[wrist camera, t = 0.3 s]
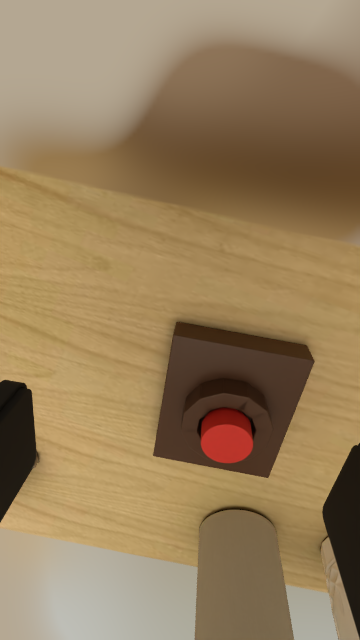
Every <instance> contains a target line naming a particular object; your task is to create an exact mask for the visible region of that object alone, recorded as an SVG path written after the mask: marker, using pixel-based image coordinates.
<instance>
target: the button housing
mask: <svg viewBox="0 0 360 640" xmlns="http://www.w3.org/2000/svg"><path fill="white" fill-rule="evenodd" d="M313 364H314V359H313V357H312V355H311V353H310V351H309V349H308V347H307V346H306V345H301V344H295V343H290V342H284V341H279V340H273V339H268V338H263V337H257V336H252V335H246V334H241V333H235V332H230V331H224V330H219V329H213V328H208V327H202V326H197V325H192V324H186V323H181V322H176V326H175V330H174V334H173V340H172V346H171V352H170V358H169V364H168V370H167V376H166V382H165V388H164V394H163V400H162V406H161V412H160V418H159V424H158V430H157V436H156V442H155V448H154V453H153V456H156V457H161V458H166V459H172V460H177V461H182V462H187V463H192V464H198V465H203V466H208V467H213V468H219V469H224V470H229V471H234V472H240V473H245V474H250V475H255V476H261V477H266V478H268V477H269V475H270V472H271V470H272V467H273V465H274V462H275V460H276V457H277V455H278V452H279V450H280V447H281V444H282V442H283V439H284V437H285V434H286V432H287V429H288V427H289V424H290V422H291V419H292V417H293V414H294V412H295V409H296V407H297V404H298V402H299V399H300V397H301V394H302V392H303V389H304V386H305V384H306V381H307V379H308V376H309V374H310V371H311V369H312V366H313ZM219 408H232V409H236V410H238V411H240V412H242V413H243V414H245V415H246V416H247V418H248V419H249V421H250V424H251V430H252V438H253V449H252V451H251V453H250V454H249V455H248V456H247V457H246V458H245V459H243V460H241V461H238V462H235V463H221V462H217V461H215V460H212V459H211V458H209V457H208V456H207V455H206V454H205V453H204V452H203V450H202V447H201V427H202V421H203V419H204V417H205V416H206V415H207V414H208V413H209V412H211V411H213V410H215V409H219Z"/></svg>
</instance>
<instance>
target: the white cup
mask: <svg viewBox="0 0 360 640" xmlns="http://www.w3.org/2000/svg"><path fill="white" fill-rule="evenodd" d="M321 557H322V562H323V566H324V570H325V574H326V582H327V588H328V593H329V596H330V601H331V607H332V613H333V617H334V622H335V626H336V631H337V635H338V639H339V640H360V639H359V636H358V632H357V629H356V626H355V623H354V619H353V616H352V613H351V609H350V606H349V603H348V599H347V596H346V593H345V589H344V586H343V583H342V579H341V576H340V573H339V569H338V566H337V563H336V560H335V556H334V553H333V550H332V546H331V543H330V540H329V536H328V537H327V538H326V539H325V540H324V541H323V542H322V546H321Z"/></svg>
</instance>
